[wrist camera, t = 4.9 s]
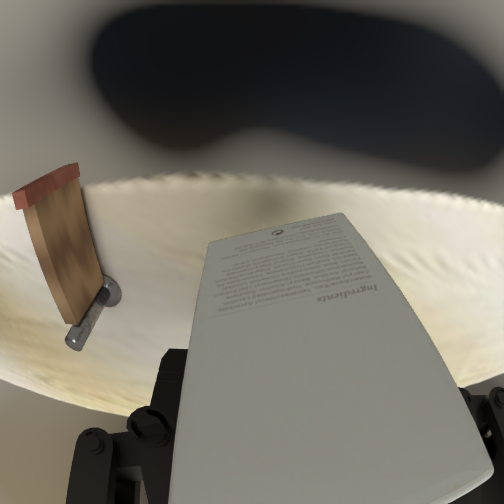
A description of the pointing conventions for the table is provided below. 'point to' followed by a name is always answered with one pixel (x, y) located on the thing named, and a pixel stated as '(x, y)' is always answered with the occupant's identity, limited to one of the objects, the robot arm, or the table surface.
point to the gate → (62, 239)
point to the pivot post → (93, 313)
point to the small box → (316, 381)
